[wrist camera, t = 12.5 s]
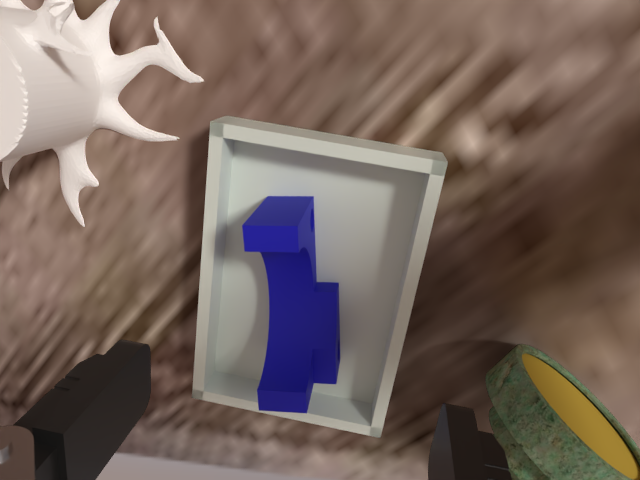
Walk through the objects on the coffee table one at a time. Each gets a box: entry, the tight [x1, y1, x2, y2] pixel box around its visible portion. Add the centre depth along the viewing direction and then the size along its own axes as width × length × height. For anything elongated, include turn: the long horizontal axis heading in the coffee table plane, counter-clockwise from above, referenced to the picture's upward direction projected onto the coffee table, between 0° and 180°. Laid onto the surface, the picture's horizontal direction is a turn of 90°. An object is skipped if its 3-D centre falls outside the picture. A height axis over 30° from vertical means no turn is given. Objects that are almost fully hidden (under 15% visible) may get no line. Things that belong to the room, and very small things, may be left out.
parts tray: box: [192, 116, 448, 438], centre depth 33 cm, size 14×20×3 cm
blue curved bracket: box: [242, 196, 340, 413], centre depth 31 cm, size 12×4×6 cm, turn 2°
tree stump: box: [0, 0, 204, 227], centre depth 28 cm, size 20×19×8 cm
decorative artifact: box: [486, 344, 640, 480], centre depth 31 cm, size 10×7×10 cm
